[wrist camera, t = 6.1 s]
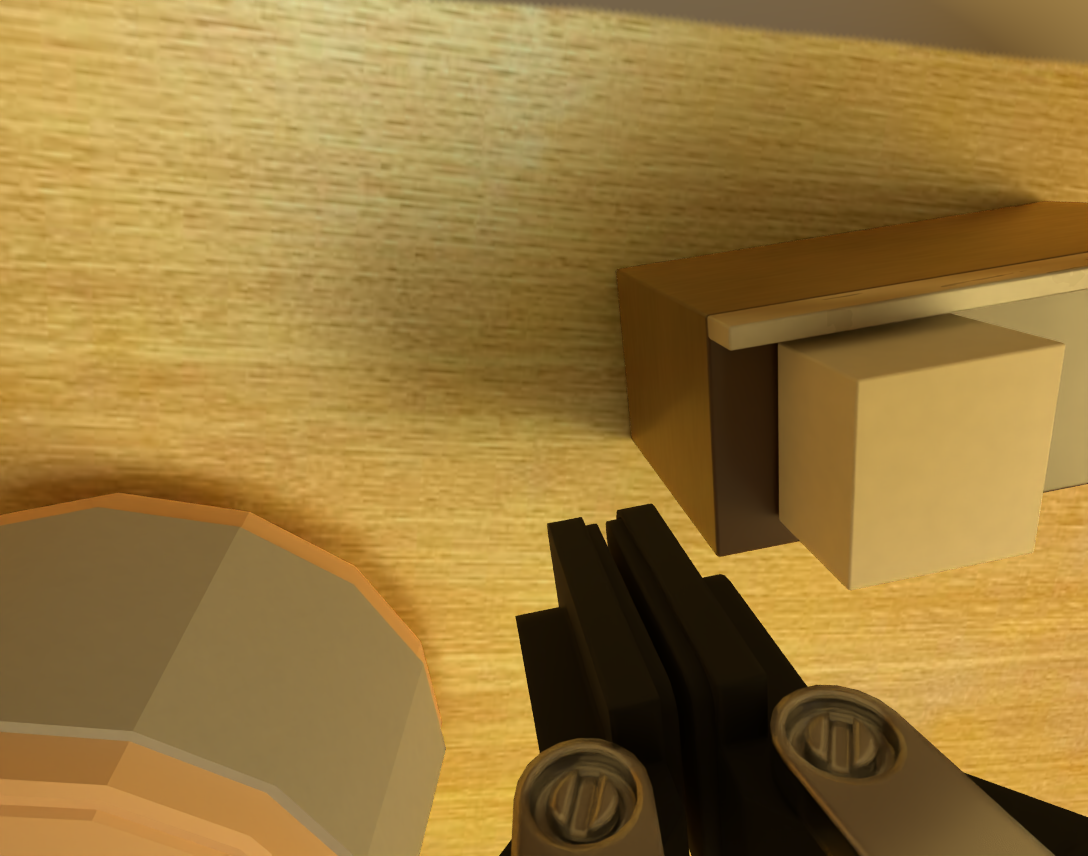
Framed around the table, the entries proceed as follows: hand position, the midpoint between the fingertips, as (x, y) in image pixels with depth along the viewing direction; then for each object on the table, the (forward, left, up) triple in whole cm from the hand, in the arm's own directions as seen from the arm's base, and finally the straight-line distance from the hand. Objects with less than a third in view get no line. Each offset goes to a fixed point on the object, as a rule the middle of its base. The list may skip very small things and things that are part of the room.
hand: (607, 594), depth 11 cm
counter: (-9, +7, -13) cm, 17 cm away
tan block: (-6, +4, -5) cm, 8 cm away
